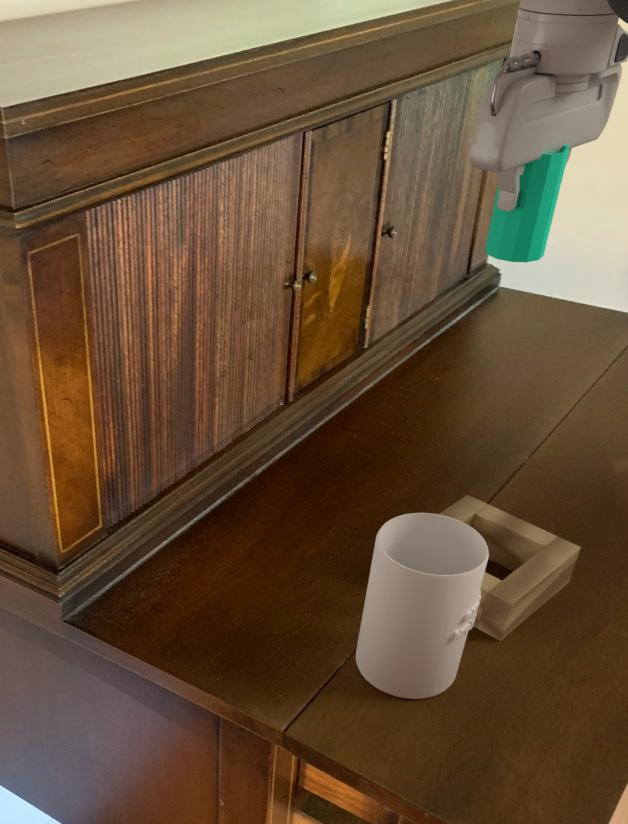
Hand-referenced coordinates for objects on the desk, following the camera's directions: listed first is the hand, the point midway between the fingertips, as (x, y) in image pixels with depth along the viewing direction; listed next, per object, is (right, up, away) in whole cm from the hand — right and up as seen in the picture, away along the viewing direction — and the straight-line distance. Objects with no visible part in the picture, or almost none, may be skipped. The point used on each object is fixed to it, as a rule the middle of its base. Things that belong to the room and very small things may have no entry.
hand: (525, 202), depth 94 cm
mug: (-17, -45, -19) cm, 52 cm away
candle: (0, -4, +3) cm, 5 cm away
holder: (-9, -39, -12) cm, 42 cm away
